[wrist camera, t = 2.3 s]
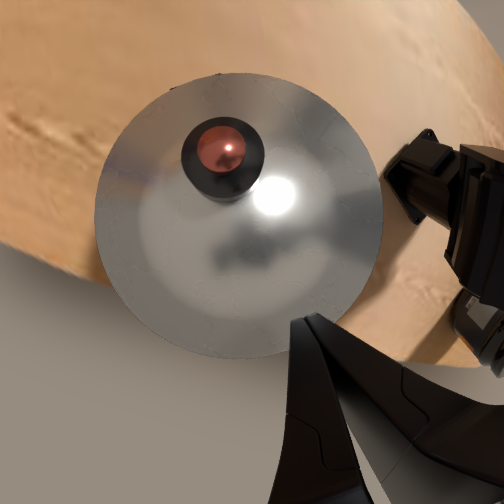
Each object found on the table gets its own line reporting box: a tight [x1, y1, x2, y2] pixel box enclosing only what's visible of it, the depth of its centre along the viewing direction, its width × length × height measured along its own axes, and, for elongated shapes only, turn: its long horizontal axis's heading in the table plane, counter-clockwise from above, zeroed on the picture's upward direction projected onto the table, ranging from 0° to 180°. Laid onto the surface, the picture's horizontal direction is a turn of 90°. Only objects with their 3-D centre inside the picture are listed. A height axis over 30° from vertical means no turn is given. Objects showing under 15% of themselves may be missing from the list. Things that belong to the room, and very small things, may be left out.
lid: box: [94, 73, 383, 359], centre depth 10 cm, size 11×11×3 cm
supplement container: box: [450, 289, 504, 378], centre depth 27 cm, size 10×10×12 cm
